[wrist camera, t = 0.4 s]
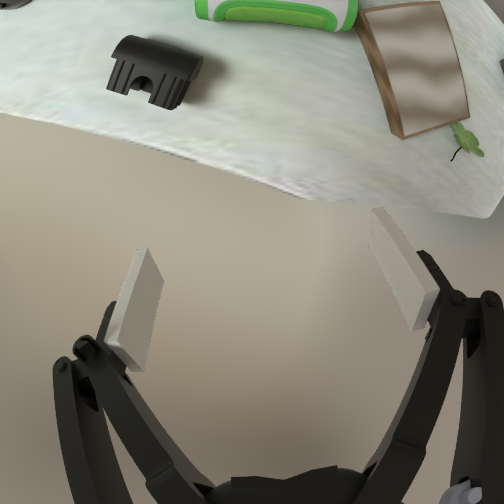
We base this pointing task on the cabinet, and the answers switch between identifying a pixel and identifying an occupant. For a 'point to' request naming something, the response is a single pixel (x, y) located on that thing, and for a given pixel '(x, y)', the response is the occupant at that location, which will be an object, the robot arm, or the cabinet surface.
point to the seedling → (466, 140)
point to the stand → (414, 66)
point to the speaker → (283, 12)
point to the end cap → (153, 70)
